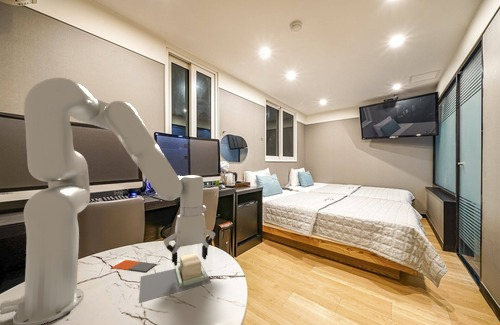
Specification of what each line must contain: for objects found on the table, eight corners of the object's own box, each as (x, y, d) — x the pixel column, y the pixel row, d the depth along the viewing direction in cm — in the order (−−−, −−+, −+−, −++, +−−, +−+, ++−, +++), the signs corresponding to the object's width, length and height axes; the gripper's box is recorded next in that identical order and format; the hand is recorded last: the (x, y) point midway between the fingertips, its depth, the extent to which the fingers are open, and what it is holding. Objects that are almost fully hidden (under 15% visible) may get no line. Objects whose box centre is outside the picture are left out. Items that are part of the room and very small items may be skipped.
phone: (125, 259, 74) (158, 263, 71) (125, 262, 74) (158, 266, 71) (110, 267, 68) (145, 272, 65) (109, 271, 68) (145, 276, 65)
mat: (138, 304, 51) (138, 299, 51) (140, 278, 63) (140, 273, 63) (211, 283, 60) (211, 279, 60) (200, 264, 72) (200, 260, 72)
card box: (179, 270, 67) (180, 256, 67) (195, 266, 70) (195, 253, 70) (183, 282, 60) (184, 266, 60) (200, 277, 62) (201, 262, 63)
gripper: (212, 207, 73) (211, 251, 72) (163, 211, 65) (161, 261, 64) (218, 211, 66) (217, 260, 66) (165, 216, 58) (163, 272, 57)
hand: (190, 260), depth 65 cm, fingers open, 9 cm apart
